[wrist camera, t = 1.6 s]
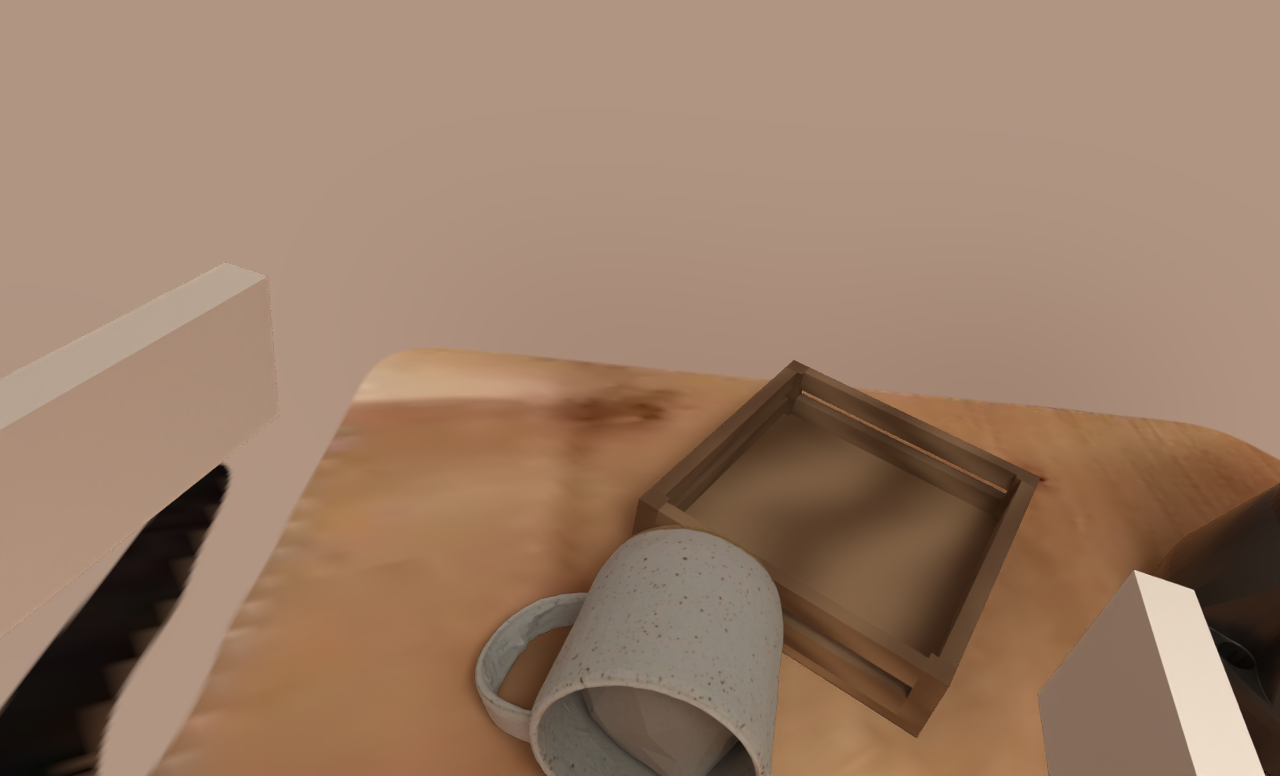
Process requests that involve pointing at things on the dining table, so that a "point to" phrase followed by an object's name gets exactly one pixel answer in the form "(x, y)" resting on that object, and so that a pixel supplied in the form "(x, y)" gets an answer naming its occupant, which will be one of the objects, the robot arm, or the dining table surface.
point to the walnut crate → (855, 532)
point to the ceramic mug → (651, 663)
